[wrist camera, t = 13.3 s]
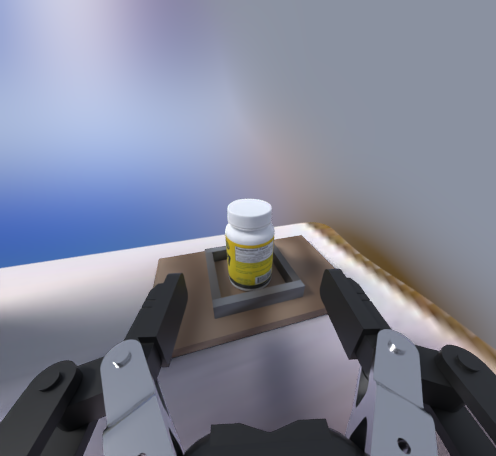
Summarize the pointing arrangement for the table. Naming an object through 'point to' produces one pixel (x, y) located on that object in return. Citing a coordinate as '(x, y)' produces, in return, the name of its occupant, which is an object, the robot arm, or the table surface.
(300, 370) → the table surface
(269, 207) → the supplement bottle
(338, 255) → the table surface
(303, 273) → the seat board
